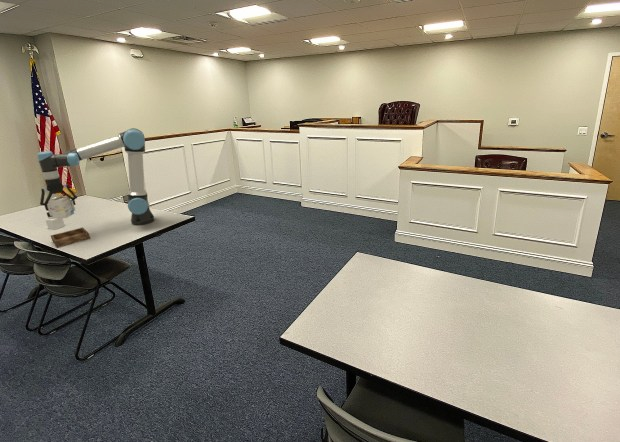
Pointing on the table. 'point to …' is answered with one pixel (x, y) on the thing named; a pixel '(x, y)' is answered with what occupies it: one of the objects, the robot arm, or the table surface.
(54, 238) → the walnut tray
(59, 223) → the medicine bottle
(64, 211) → the ink box
